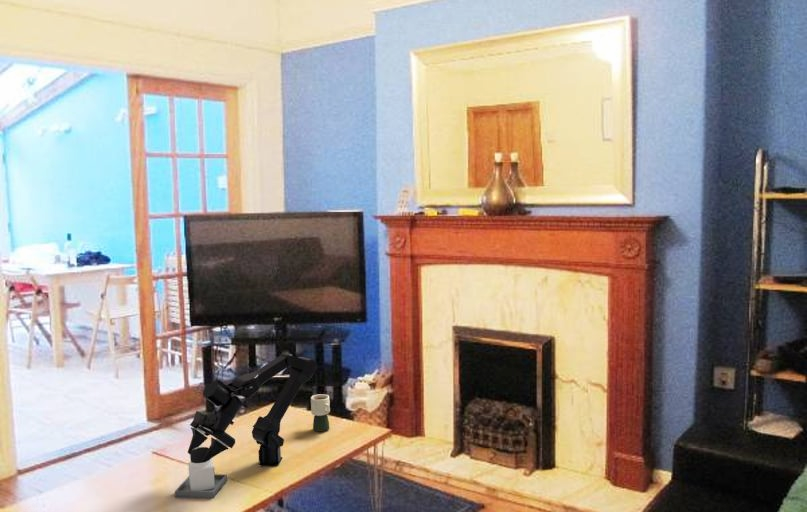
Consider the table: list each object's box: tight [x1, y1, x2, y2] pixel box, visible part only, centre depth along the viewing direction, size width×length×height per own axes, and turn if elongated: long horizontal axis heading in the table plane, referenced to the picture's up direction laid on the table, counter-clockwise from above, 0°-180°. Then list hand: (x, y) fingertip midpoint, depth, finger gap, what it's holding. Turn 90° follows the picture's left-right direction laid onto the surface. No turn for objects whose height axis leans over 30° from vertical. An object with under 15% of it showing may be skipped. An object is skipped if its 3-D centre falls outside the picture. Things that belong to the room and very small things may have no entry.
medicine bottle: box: [187, 446, 216, 491], centre depth 204 cm, size 7×7×12 cm
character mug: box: [310, 393, 331, 432], centre depth 251 cm, size 11×7×13 cm, turn 43°
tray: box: [174, 473, 228, 499], centre depth 204 cm, size 12×12×2 cm
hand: (195, 457), depth 202 cm, fingers open, 9 cm apart
